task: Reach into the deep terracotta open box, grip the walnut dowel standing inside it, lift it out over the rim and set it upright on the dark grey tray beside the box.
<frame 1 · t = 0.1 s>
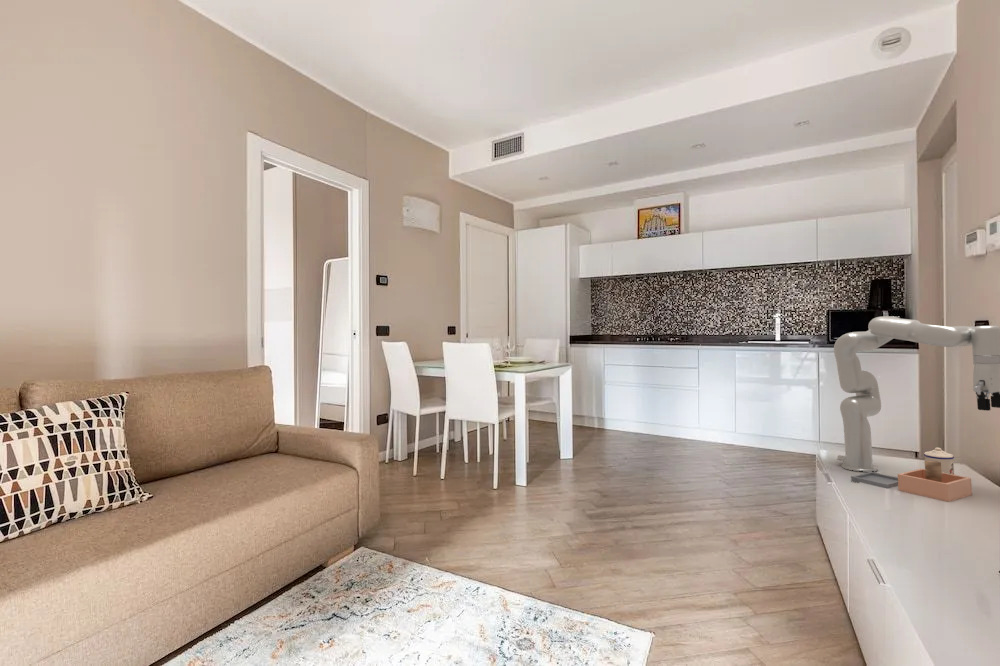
hand: (990, 408, 170), 31 cm above the sideboard, tool pointing down, fingers open, 9 cm apart
walnut dowel: (934, 492, 175), point 1 cm above the sideboard, touching terracotta open box
grey tray: (879, 483, 190), on the sideboard
terracotta open box: (934, 493, 175), on the sideboard
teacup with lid: (939, 476, 196), on the sideboard
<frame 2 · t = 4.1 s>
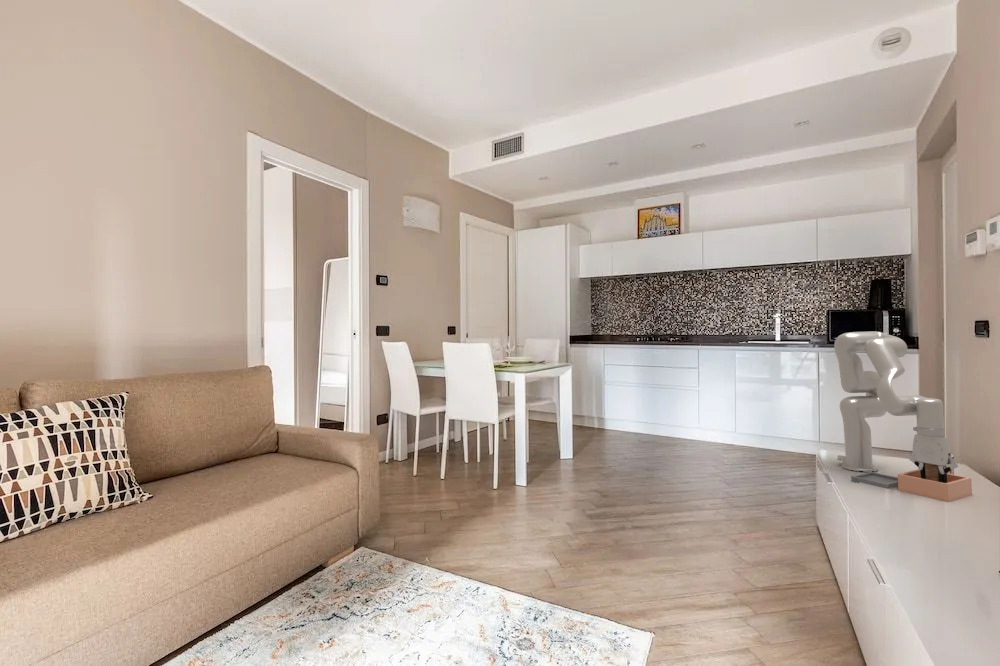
hand: (933, 481, 175), 4 cm above the sideboard, tool pointing down, fingers closed on walnut dowel, 4 cm apart
walnut dowel: (934, 492, 175), point 1 cm above the sideboard, touching gripper, terracotta open box
everything else where it was.
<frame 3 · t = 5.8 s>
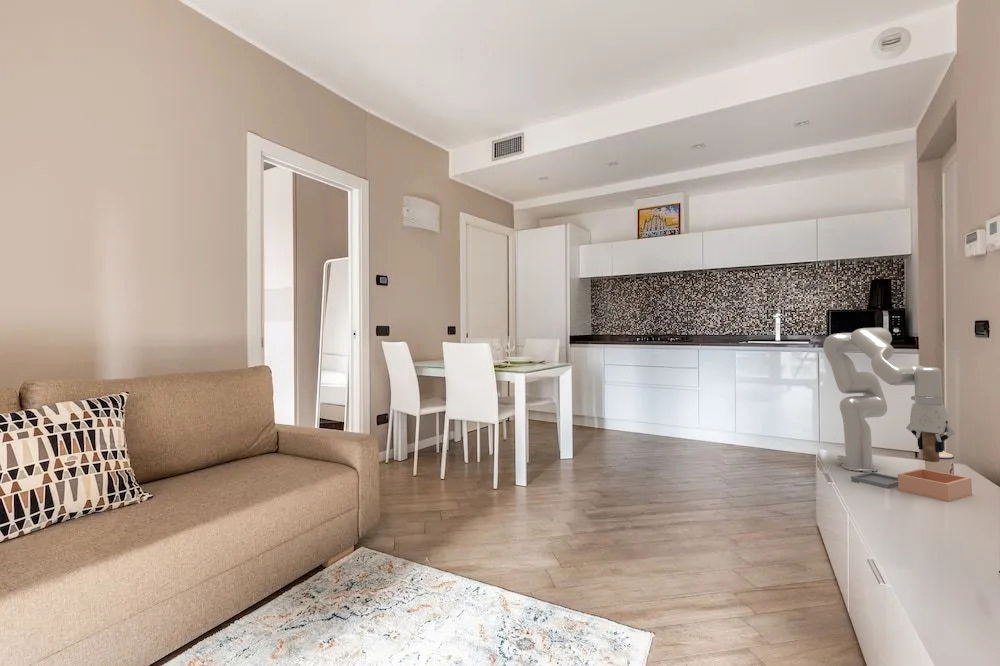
hand: (930, 450, 176), 16 cm above the sideboard, tool pointing down, fingers closed on walnut dowel, 4 cm apart
walnut dowel: (931, 460, 176), point 12 cm above the sideboard, touching gripper
everything else where it was.
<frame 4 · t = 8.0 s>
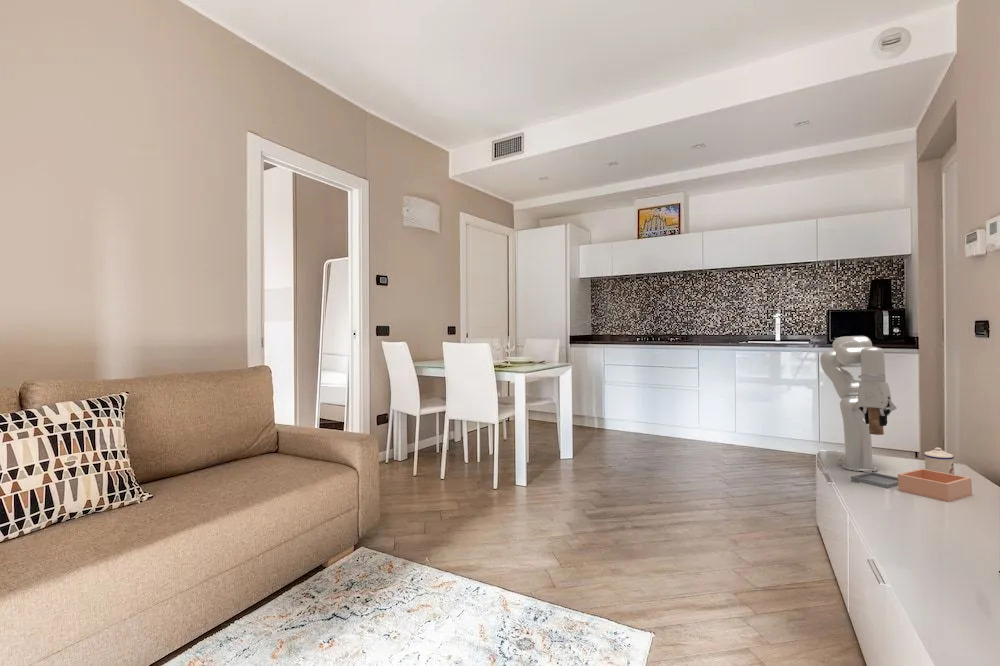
hand: (876, 424, 190), 23 cm above the sideboard, tool pointing down, fingers closed on walnut dowel, 4 cm apart
walnut dowel: (876, 433, 190), point 19 cm above the sideboard, touching gripper
everything else where it was.
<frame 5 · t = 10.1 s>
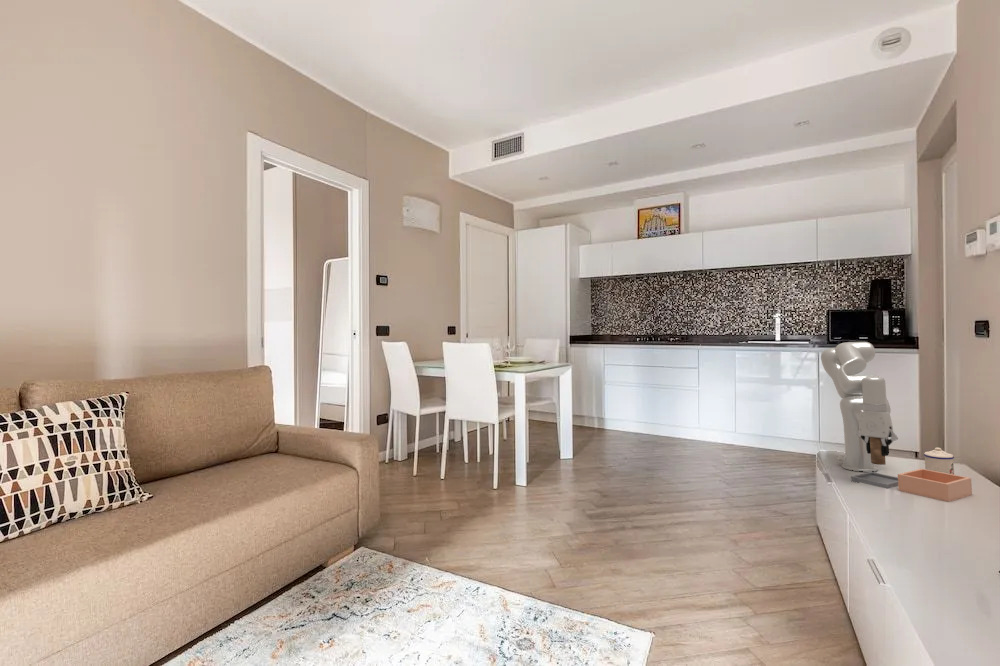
hand: (877, 453, 190), 12 cm above the sideboard, tool pointing down, fingers closed on walnut dowel, 4 cm apart
walnut dowel: (878, 463, 190), point 8 cm above the sideboard, touching gripper
everything else where it was.
when the fingers open (6 cm above the sideboard, at t = 12.0 s): walnut dowel drops 1 cm, resting on grey tray.
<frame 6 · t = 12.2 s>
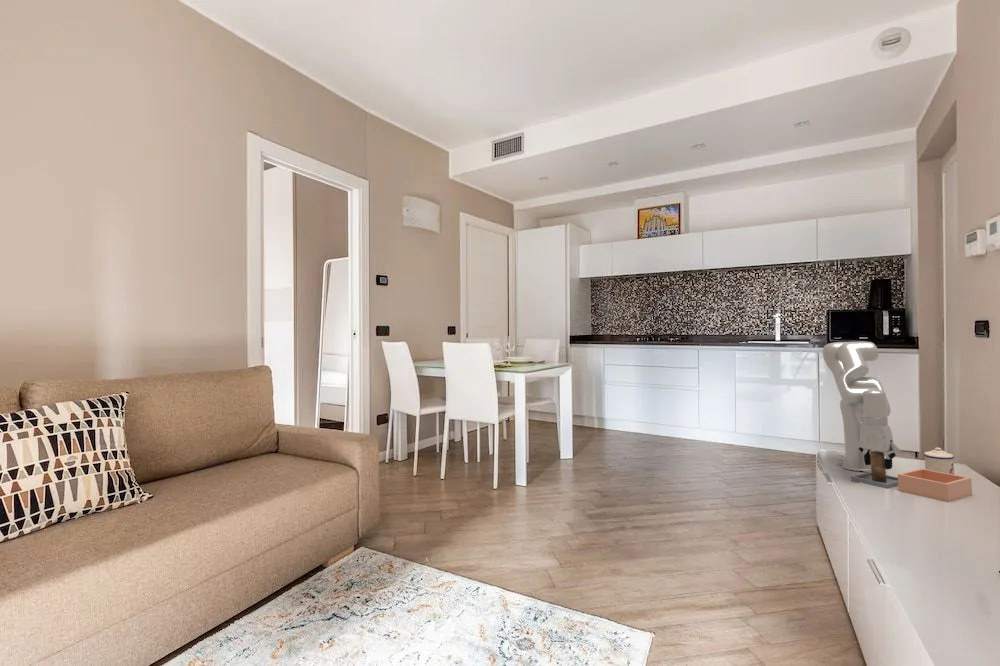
hand: (878, 466, 190), 7 cm above the sideboard, tool pointing down, fingers open, 6 cm apart
walnut dowel: (879, 480, 190), point 1 cm above the sideboard, touching grey tray
everything else where it was.
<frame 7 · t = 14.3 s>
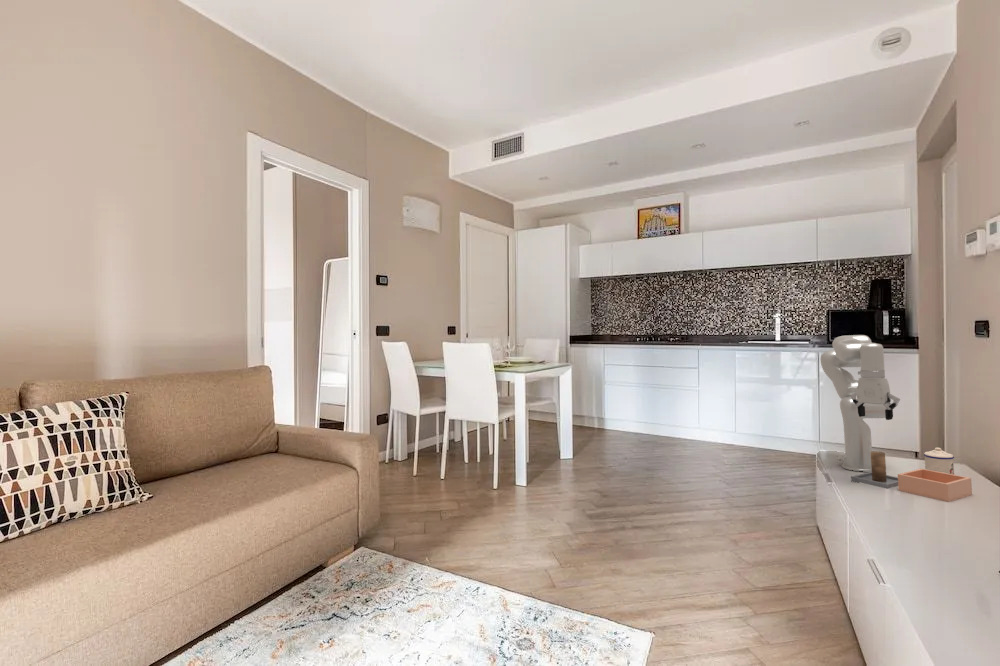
hand: (875, 417, 190), 26 cm above the sideboard, tool pointing down, fingers open, 9 cm apart
nothing on the sideboard moved.
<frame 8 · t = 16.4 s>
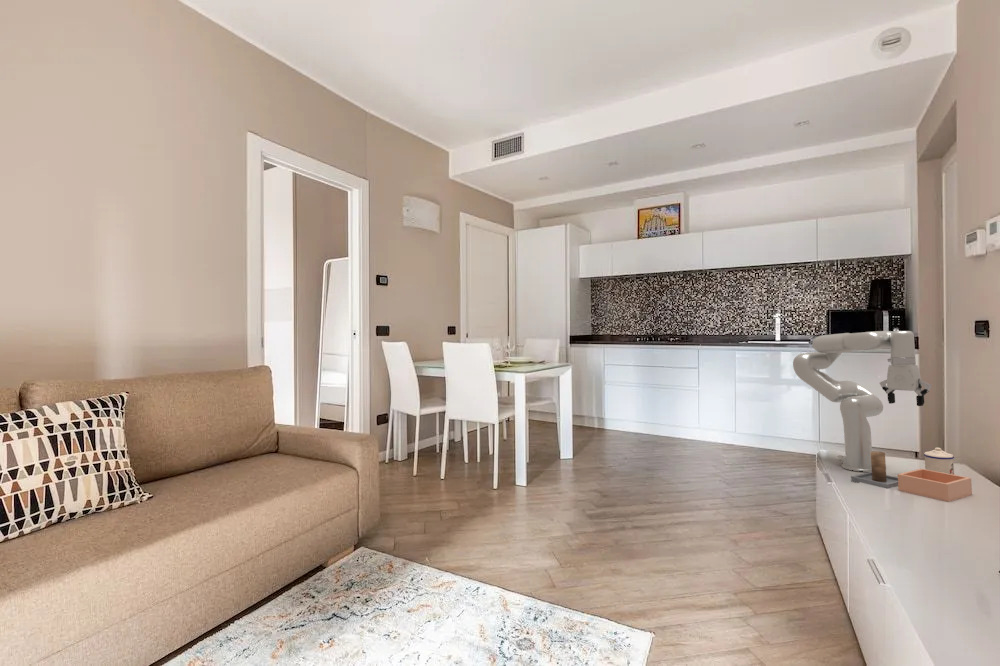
hand: (905, 404, 192), 30 cm above the sideboard, tool pointing down, fingers open, 9 cm apart
nothing on the sideboard moved.
at the end: walnut dowel inside the target area on the grey tray (0.1 cm from its centre), point 1.0 cm above the grey tray's base; walnut dowel tilted 0°; the gripper is holding nothing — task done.
